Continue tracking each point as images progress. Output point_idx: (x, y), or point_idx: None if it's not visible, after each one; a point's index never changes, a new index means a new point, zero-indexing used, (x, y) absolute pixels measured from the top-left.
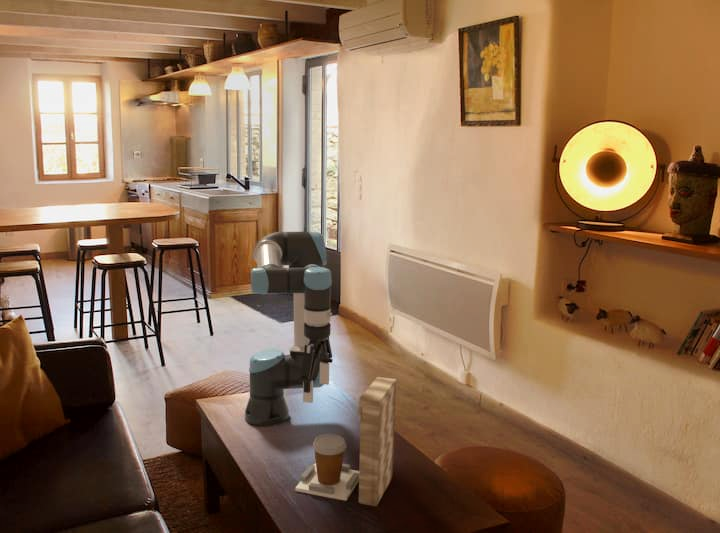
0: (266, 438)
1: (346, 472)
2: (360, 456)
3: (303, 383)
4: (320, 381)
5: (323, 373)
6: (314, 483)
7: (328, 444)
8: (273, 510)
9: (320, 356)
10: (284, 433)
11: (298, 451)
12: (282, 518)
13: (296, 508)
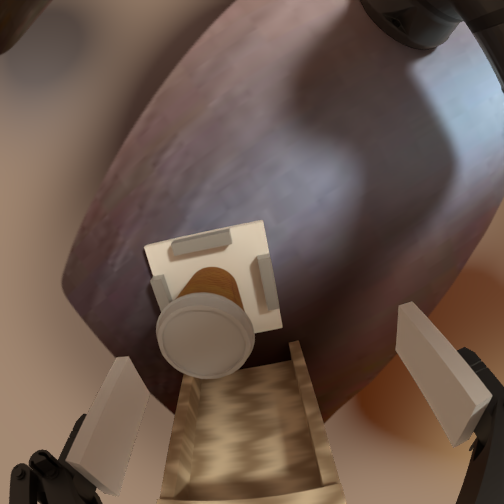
0: (323, 40)
1: (262, 303)
2: (173, 429)
3: (75, 443)
4: (404, 318)
5: (428, 371)
6: (163, 287)
7: (189, 347)
8: (76, 250)
9: (477, 485)
10: (368, 66)
11: (308, 141)
12: (72, 277)
13: (104, 281)
